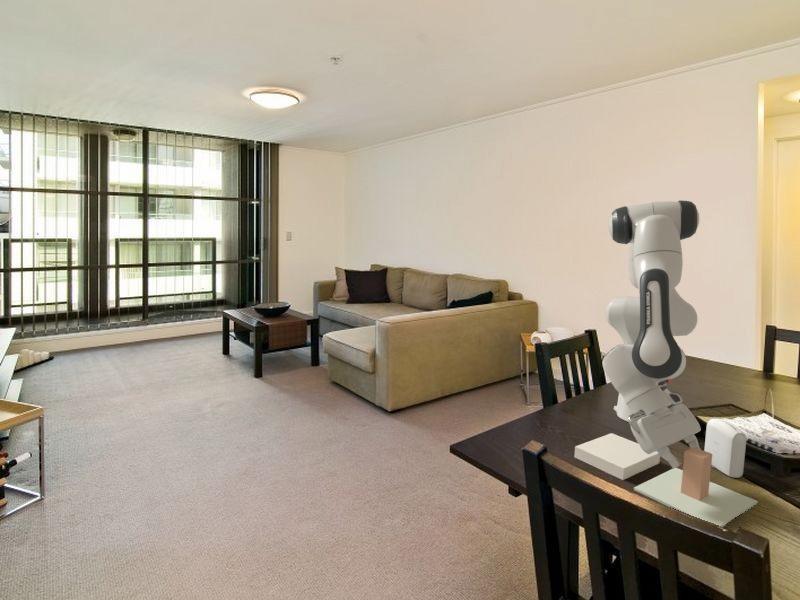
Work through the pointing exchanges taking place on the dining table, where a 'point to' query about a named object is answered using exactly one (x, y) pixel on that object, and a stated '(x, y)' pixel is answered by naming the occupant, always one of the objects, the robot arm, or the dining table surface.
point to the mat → (711, 508)
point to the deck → (616, 456)
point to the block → (696, 473)
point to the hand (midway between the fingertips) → (689, 461)
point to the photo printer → (726, 447)
